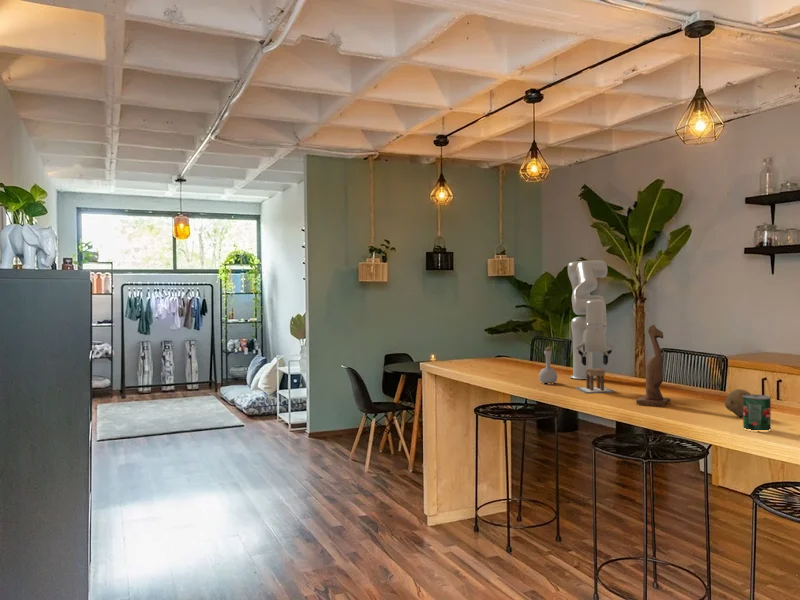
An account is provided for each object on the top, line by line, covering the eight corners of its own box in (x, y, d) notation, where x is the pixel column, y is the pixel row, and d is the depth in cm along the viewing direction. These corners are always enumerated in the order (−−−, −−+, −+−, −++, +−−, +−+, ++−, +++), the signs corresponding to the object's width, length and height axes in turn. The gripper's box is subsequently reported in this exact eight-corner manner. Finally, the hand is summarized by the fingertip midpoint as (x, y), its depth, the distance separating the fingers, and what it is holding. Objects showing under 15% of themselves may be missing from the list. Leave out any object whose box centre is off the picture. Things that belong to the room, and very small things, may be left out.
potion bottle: (559, 384, 306) (559, 347, 306) (541, 384, 306) (540, 347, 306) (555, 381, 315) (554, 345, 315) (537, 382, 315) (536, 345, 315)
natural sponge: (729, 419, 224) (729, 390, 224) (721, 413, 233) (721, 386, 233) (757, 419, 223) (757, 391, 223) (748, 414, 232) (748, 387, 231)
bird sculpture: (667, 408, 246) (670, 326, 245) (635, 405, 252) (638, 324, 251) (670, 404, 256) (673, 324, 255) (640, 400, 262) (642, 323, 261)
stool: (585, 388, 291) (585, 368, 291) (599, 387, 292) (599, 368, 292) (590, 390, 285) (590, 370, 285) (604, 390, 285) (604, 370, 285)
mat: (575, 388, 295) (575, 387, 295) (604, 387, 296) (604, 386, 296) (585, 393, 281) (585, 392, 281) (616, 392, 282) (616, 391, 282)
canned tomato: (774, 432, 203) (774, 398, 203) (748, 432, 204) (748, 398, 204) (765, 427, 211) (765, 394, 211) (739, 426, 212) (739, 394, 212)
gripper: (610, 326, 292) (610, 363, 293) (573, 327, 291) (573, 364, 292) (616, 327, 285) (616, 365, 286) (578, 328, 284) (578, 366, 285)
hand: (594, 364), depth 289 cm, fingers open, 9 cm apart
